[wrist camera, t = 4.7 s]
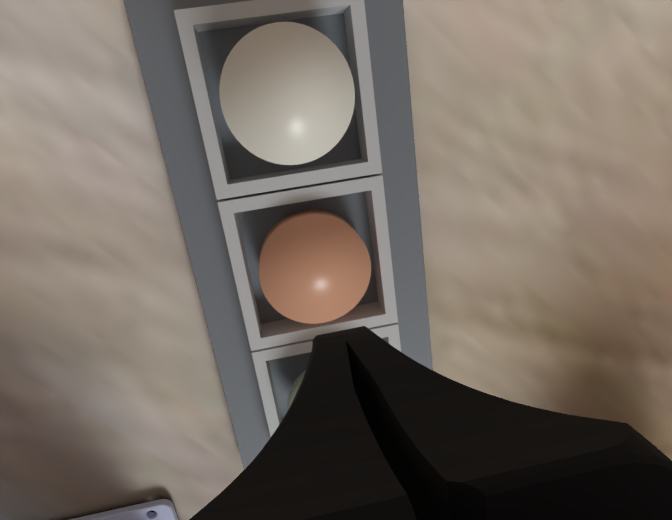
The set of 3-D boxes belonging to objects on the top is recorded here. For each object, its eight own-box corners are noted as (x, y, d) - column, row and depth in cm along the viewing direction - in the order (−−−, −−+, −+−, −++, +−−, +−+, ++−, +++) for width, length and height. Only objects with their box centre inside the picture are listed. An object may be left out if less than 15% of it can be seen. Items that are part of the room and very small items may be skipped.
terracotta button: (270, 316, 20) (270, 332, 18) (249, 218, 18) (248, 227, 17) (368, 297, 20) (376, 312, 19) (356, 200, 19) (364, 208, 17)
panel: (245, 460, 24) (243, 494, 21) (129, 4, 17) (110, -11, 15) (432, 419, 24) (447, 448, 22) (394, -28, 18) (411, -47, 16)
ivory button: (237, 169, 17) (235, 174, 15) (211, 39, 16) (204, 31, 14) (353, 150, 17) (362, 154, 16) (338, 22, 16) (345, 13, 14)
